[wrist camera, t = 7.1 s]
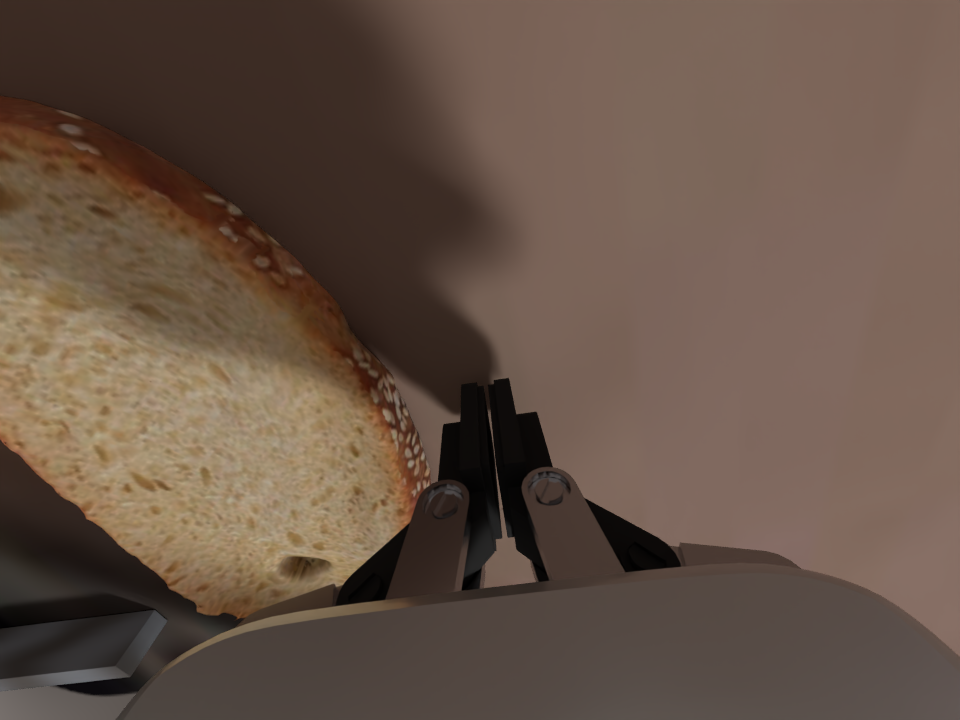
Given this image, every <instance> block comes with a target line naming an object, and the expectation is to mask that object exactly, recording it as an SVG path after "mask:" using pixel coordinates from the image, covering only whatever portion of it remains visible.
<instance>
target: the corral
mask: <svg viewBox="0 0 960 720" xmlns="http://www.w3.org/2000/svg"><path fill="white" fill-rule="evenodd" d="M166 622H167V620H166V619H165V618H164V617H162V616H161V615H160V614H159V613H158V612H157V611H156V610H149V611H141V612H133V613H125V614H117V615H108V616H100V617H92V618H84V619H76V620H67V621H59V622H51V623H43V624H35V625H26V626H18V627H10V628H2V629H0V691H8V690H17V689H25V688H35V687H44V686H52V685H61V684H70V683H79V682H88V681H97V680H105V679H114V678H123V677H131V675H132V674H133V672H134V671H135V669H136V668H137V666H138V665H139V663H140V662H141V660H142V658H143V657H144V655H145V654H146V652H147V651H148V649H149V648H150V646H151V645H152V643H153V642H154V640H155V639H156V637H157V636H158V634H159V633H160V631H161V630H162V628H163V627H164V625H165V624H166Z"/></svg>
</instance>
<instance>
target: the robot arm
mask: <svg viewBox="0 0 960 720" xmlns="http://www.w3.org/2000/svg"><path fill="white" fill-rule="evenodd" d="M488 389H489V399H490V409H491V419H492V429H493V439H494V449H495V458H494V449H493V442H492V436H491V430H490V423H489V417H488V411H487V405H486V399H485V392H484V387H483V386H478V385H477V383H469V384H462V385H461V418H460V422H456V423H449V424H444V425H443V432H442V443H441V454H440V465H439V475H438V482H435V483H433V484H431V485H430V486H428V487H427V488H425V489H424V491H423V492H422V493H421V494H420V496H419V498H418V500H417V503H416V506H415V509H414V512H413V515H412V518H411V521H410V523H409V524H408V525H406V526H405V527H404V528H403V529H402V530H401V531H400V532H399V533H397V534H396V535H395V536H394V537H393V538H392V539H391V540H390V541H389V542H387V543H386V544H385V545H384V546H383V547H382V548H381V549H380V550H378V551H377V552H376V553H375V554H374V555H373V556H372V557H371V558H369V559H368V560H367V561H366V562H365V563H364V564H363V565H362V566H361V567H359V568H358V569H357V570H356V571H355V572H354V573H353V574H352V575H351V576H350V577H349V578H348V579H347V580H346V581H345V583H344V584H343V585H341V586H338V587H336V586H335V584H334V583H333V584H331V585H328V586H325V587H322V588H319V589H316V590H314V591H311V592H308V593H305V594H302V595H299V596H297V597H294V598H291V599H288V600H285V601H282V602H279V603H277V604H274V605H271V606H268V607H265V608H262V609H260V610H258V611H256V612H254V613H252V614H250V615H248V616H247V617H246V618H245V619H244V620H243V621H241V622H240V623H239V624H238V625H237V627H236V628H234V629H231V630H229V631H226V632H224V633H221V634H219V635H217V636H215V637H213V638H211V639H209V640H207V641H205V642H203V643H201V644H199V645H197V646H195V647H194V648H192V649H190V650H189V651H187V652H185V653H184V654H182V655H180V656H179V657H178V658H176V659H175V660H173V661H172V662H170V663H169V664H167V665H166V666H165V667H163V668H162V669H161V670H160V671H159V672H158V673H156V674H155V675H154V676H153V677H152V678H151V679H150V680H149V681H148V682H147V683H146V684H145V685H144V686H143V687H142V688H141V689H140V690H139V691H138V693H137V694H136V695H135V696H134V697H133V699H132V700H131V701H130V702H129V703H128V705H127V706H126V707H125V708H124V710H123V711H122V712H121V713H120V715H119V716H118V717H117V719H116V720H960V656H958V655H957V654H956V653H955V652H954V651H953V650H952V649H950V648H949V647H948V646H947V645H946V644H945V643H944V642H942V641H941V640H940V639H939V638H938V637H937V636H936V635H934V634H933V633H932V632H931V631H930V630H928V629H927V628H926V627H925V626H923V625H922V624H921V623H920V622H919V621H917V620H916V619H915V618H913V617H912V616H911V615H909V614H908V613H907V612H905V611H904V610H902V609H901V608H900V607H898V606H897V605H895V604H893V603H892V602H890V601H889V600H887V599H885V598H884V597H882V596H880V595H878V594H876V593H874V592H872V591H870V590H868V589H866V588H864V587H861V586H859V585H856V584H853V583H851V582H848V581H845V580H842V579H839V578H836V577H833V576H829V575H825V574H821V573H817V572H813V571H809V570H804V569H801V568H799V567H798V566H797V565H796V564H794V563H793V562H792V561H790V560H788V559H786V558H784V557H782V556H780V555H778V554H775V553H771V552H767V551H760V550H750V549H740V548H729V547H719V546H709V545H699V544H689V543H680V544H679V547H675V546H668V544H666V543H665V542H663V541H662V540H660V539H659V538H658V537H656V536H654V535H652V534H650V533H648V532H646V531H645V530H643V529H641V528H639V527H637V526H635V525H633V524H632V523H630V522H628V521H626V520H624V519H622V518H620V517H619V516H617V515H615V514H613V513H611V512H609V511H607V510H606V509H604V508H602V507H600V506H598V505H596V504H594V503H593V502H591V501H589V500H587V499H585V498H584V497H583V495H582V493H581V491H580V490H579V488H578V486H577V484H576V482H575V481H574V479H573V478H572V477H571V476H570V475H569V474H568V473H566V472H565V471H563V470H561V469H558V468H554V467H553V466H552V463H551V459H550V456H549V452H548V449H547V446H546V442H545V439H544V435H543V432H542V428H541V425H540V421H539V418H538V415H537V412H531V413H524V414H516V411H515V406H514V401H513V396H512V391H511V386H510V381H509V378H506V379H498V380H494V384H492V385H488ZM495 459H496V467H497V474H498V480H499V486H500V493H501V499H502V505H503V511H504V517H505V523H506V530H507V536H508V538H509V537H515V542H516V549H517V550H518V551H519V552H520V553H522V554H523V555H524V556H526V557H527V558H528V559H530V562H531V568H532V571H533V574H534V577H535V580H536V582H534V583H526V584H517V585H508V586H500V587H491V588H484V581H485V563H486V561H487V560H488V559H489V558H490V557H491V556H492V554H493V553H494V551H496V539H501V538H502V531H501V520H500V510H499V500H498V489H497V479H496V469H495Z"/></svg>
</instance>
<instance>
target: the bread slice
mask: <svg viewBox="0 0 960 720" xmlns="http://www.w3.org/2000/svg"><path fill="white" fill-rule="evenodd" d="M0 440H1V441H2V442H3V443H4V445H5V446H7V447H8V448H9V449H10V450H11V451H13V452H16V453H17V454H19V455H20V456H21V457H22V459H23V460H24V461H25V463H27V464H28V465H29V466H30V467H31V468H32V471H34V472H35V473H36V474H37V475H38V476H40V477H41V478H42V479H43V480H44V481H45V482H47V483H48V484H50V485H51V486H52V487H53V488H54V489H55V491H56V492H57V493H60V496H61V497H63V498H64V499H66V500H68V501H71V502H72V503H74V504H76V505H77V506H78V507H79V508H80V509H81V510H82V512H83V513H84V515H85V516H86V519H87V520H90V521H92V522H94V523H95V524H97V525H98V526H100V527H102V528H103V529H104V530H105V532H106V533H107V534H109V535H110V536H111V537H112V538H113V539H114V540H115V541H116V542H117V544H118V545H119V546H121V547H122V548H124V549H125V550H126V551H127V552H128V553H130V554H131V555H134V556H136V557H137V558H138V559H139V560H140V561H141V563H142V564H144V565H146V566H148V567H149V568H150V569H151V570H153V571H154V572H156V573H157V574H158V575H159V576H160V577H161V578H162V579H163V580H164V581H165V582H166V584H167V586H168V588H169V589H170V590H173V591H175V592H177V593H179V594H181V595H182V596H183V597H184V598H187V599H189V600H191V601H193V602H194V603H195V604H196V606H197V612H199V613H202V614H205V615H220V614H221V613H229V614H232V615H234V616H236V617H237V619H239V618H246V617H247V616H248V615H250V614H252V613H254V612H256V611H258V610H260V609H262V608H265V607H268V606H271V605H274V604H277V603H279V602H282V601H285V600H288V599H291V598H294V597H297V596H299V595H302V594H305V593H308V592H311V591H314V590H316V589H319V588H322V587H325V586H328V585H331V584H333V583H334V584H335V586H336V587H338V586H341V585H343V584H344V583H345V581H346V580H347V579H348V578H349V577H350V576H351V575H352V574H353V573H354V572H355V571H356V570H357V569H358V568H359V567H361V566H362V565H363V564H364V563H365V562H366V561H367V560H368V559H369V558H371V557H372V556H373V555H374V554H375V553H376V552H377V551H378V550H380V549H381V548H382V547H383V546H384V545H385V544H386V543H387V542H389V541H390V540H391V539H392V538H393V537H394V536H395V535H396V534H397V533H399V532H400V531H401V530H402V529H403V528H404V527H405V526H406V525H408V524H409V523H410V521H411V518H412V515H413V512H414V509H415V506H416V503H417V500H418V498H419V496H420V494H421V493H422V492H423V491H424V489H425V488H427V487H428V486H430V485H431V483H430V467H429V464H428V461H427V459H426V457H425V454H424V450H423V447H422V442H421V439H420V436H419V434H418V432H417V430H416V428H415V426H414V424H413V421H412V419H411V417H410V414H409V411H408V408H407V406H406V404H405V402H404V400H403V399H402V397H401V396H400V394H399V392H398V389H397V386H396V383H395V380H394V377H393V376H392V374H391V373H390V372H389V371H388V370H387V369H386V368H385V366H384V365H383V364H382V363H381V362H380V361H379V360H378V359H377V358H376V357H375V356H374V355H373V354H372V353H371V352H370V351H369V350H368V349H366V348H365V347H364V346H363V344H362V343H361V342H360V341H359V340H358V339H357V338H356V336H355V335H354V334H353V332H352V331H351V329H350V327H349V325H348V323H347V321H346V319H345V317H344V314H343V312H342V310H341V309H340V307H339V305H338V304H337V302H336V301H335V300H334V298H333V297H332V296H331V295H330V294H329V293H328V292H327V291H326V290H325V289H324V288H323V287H322V286H321V285H320V284H319V283H318V282H317V281H316V280H315V279H314V278H313V277H312V276H311V275H310V274H309V273H308V272H307V270H306V269H305V268H304V267H303V266H302V265H301V264H300V262H299V261H298V260H297V259H296V258H295V257H294V256H293V255H292V254H290V253H289V252H288V251H287V250H286V249H285V248H283V247H282V246H281V245H280V244H279V243H278V242H276V241H275V240H274V239H273V238H272V237H271V236H269V235H268V234H267V233H266V232H265V231H263V230H262V229H261V228H260V227H259V226H258V225H256V224H255V223H254V222H253V221H252V220H251V219H249V218H248V217H247V216H246V215H245V214H244V213H243V212H242V211H241V210H240V209H239V208H237V207H236V206H235V205H234V204H233V203H231V202H230V201H229V200H228V199H226V198H225V197H224V196H222V195H221V194H219V193H218V192H217V191H215V190H214V189H213V188H211V187H210V186H208V185H207V184H205V183H204V182H202V181H201V180H199V179H198V178H196V177H195V176H193V175H192V174H190V173H188V172H186V171H185V170H183V169H181V168H179V167H177V166H176V165H174V164H172V163H171V162H169V161H167V160H166V159H164V158H162V157H160V156H159V155H157V154H155V153H154V152H152V151H150V150H149V149H147V148H145V147H143V146H141V145H139V144H137V143H135V142H133V141H131V140H129V139H127V138H125V137H123V136H121V135H119V134H118V133H116V132H114V131H112V130H110V129H107V128H105V127H103V126H101V125H99V124H97V123H95V122H93V121H91V120H88V119H86V118H83V117H81V116H78V115H75V114H72V113H68V112H65V111H62V110H58V109H55V108H52V107H48V106H45V105H42V104H39V103H36V102H33V101H29V100H23V99H18V98H11V97H5V96H0ZM5 442H6V443H5ZM237 619H236V620H237Z"/></svg>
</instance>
